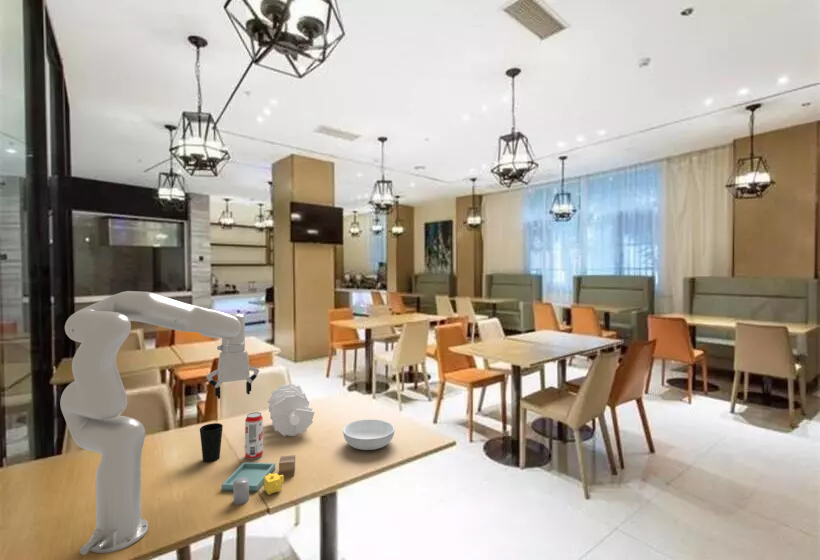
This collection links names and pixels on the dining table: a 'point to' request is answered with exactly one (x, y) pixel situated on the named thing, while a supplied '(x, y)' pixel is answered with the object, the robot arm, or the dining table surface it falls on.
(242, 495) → the grey cylinder
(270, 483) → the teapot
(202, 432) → the cup
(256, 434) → the beer can
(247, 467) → the tray
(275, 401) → the spiral staircase
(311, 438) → the dining table surface
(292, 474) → the walnut cube
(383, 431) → the serving bowl
